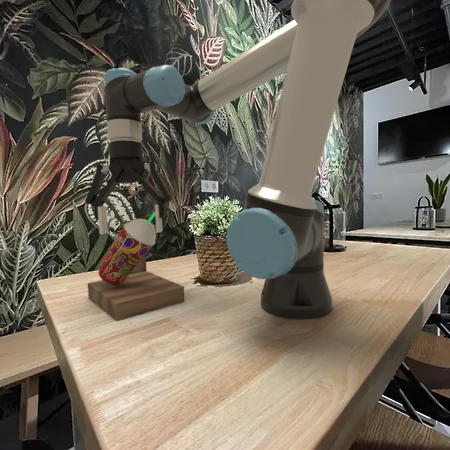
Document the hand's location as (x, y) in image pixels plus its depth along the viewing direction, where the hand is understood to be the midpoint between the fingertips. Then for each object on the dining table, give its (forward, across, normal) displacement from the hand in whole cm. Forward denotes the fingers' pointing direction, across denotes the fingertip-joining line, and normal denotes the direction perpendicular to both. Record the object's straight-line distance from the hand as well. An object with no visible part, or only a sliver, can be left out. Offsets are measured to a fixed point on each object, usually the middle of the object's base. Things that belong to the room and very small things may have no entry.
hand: (131, 232), depth 69 cm
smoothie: (+11, +6, 0) cm, 13 cm away
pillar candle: (+17, +10, -24) cm, 31 cm away
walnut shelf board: (+17, 0, 0) cm, 17 cm away
